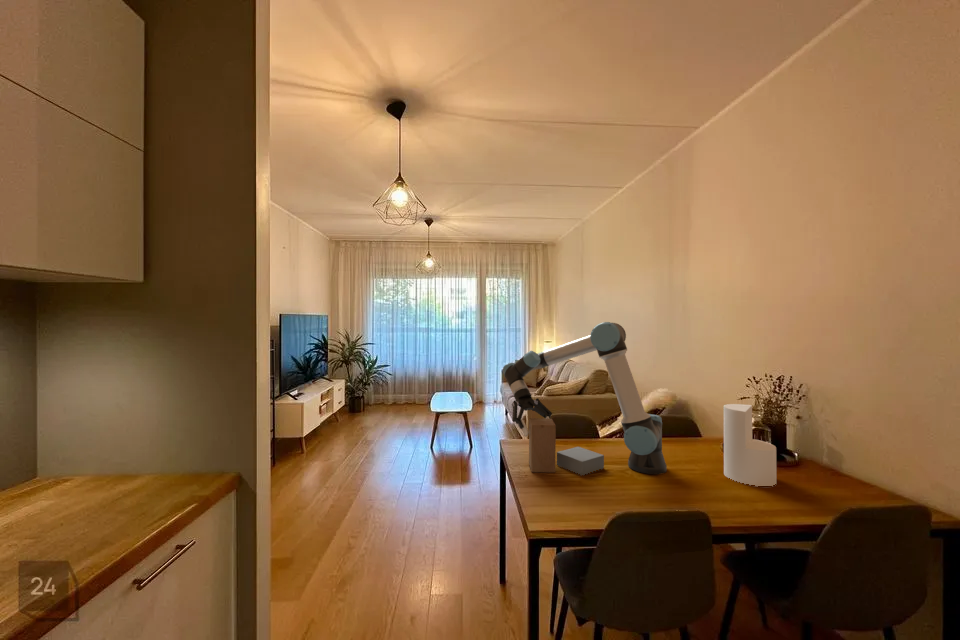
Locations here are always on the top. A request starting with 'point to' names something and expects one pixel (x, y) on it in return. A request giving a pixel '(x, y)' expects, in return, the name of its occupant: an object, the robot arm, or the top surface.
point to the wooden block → (542, 445)
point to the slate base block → (580, 460)
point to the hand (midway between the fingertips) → (540, 432)
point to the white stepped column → (746, 449)
